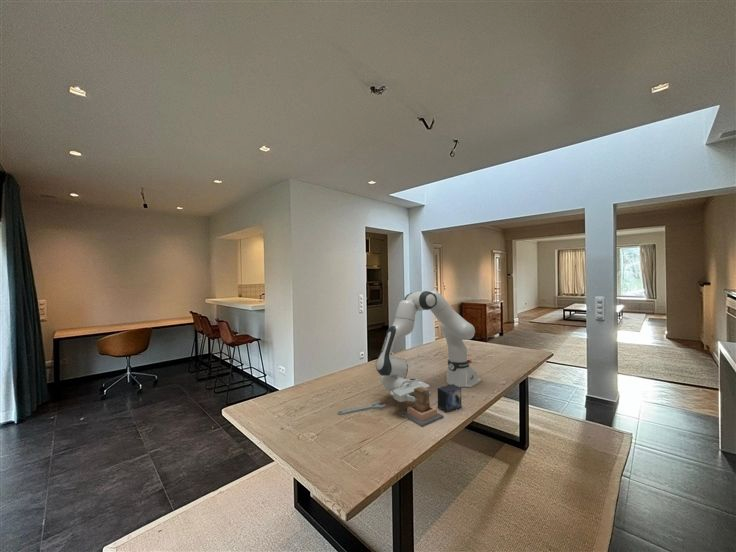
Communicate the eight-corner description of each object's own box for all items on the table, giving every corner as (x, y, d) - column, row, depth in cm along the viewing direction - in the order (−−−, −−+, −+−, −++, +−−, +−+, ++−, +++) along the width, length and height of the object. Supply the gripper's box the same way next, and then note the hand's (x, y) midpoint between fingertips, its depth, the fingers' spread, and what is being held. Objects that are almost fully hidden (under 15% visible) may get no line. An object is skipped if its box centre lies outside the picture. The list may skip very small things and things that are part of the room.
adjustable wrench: (338, 416, 141) (338, 413, 141) (336, 411, 147) (336, 407, 147) (386, 409, 148) (386, 405, 148) (383, 403, 154) (382, 400, 154)
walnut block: (422, 410, 142) (421, 386, 142) (429, 414, 138) (429, 389, 138) (414, 413, 139) (414, 388, 139) (422, 417, 135) (421, 392, 135)
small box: (445, 413, 141) (445, 391, 141) (437, 408, 147) (436, 387, 147) (462, 408, 145) (461, 387, 145) (453, 403, 151) (452, 383, 151)
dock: (422, 407, 148) (422, 399, 148) (443, 417, 136) (443, 409, 136) (401, 414, 140) (401, 406, 140) (421, 427, 128) (421, 418, 129)
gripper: (387, 386, 143) (406, 395, 132) (418, 377, 155) (437, 385, 143) (387, 399, 143) (406, 409, 132) (418, 389, 155) (438, 398, 143)
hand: (422, 397), depth 138 cm, fingers open, 8 cm apart
